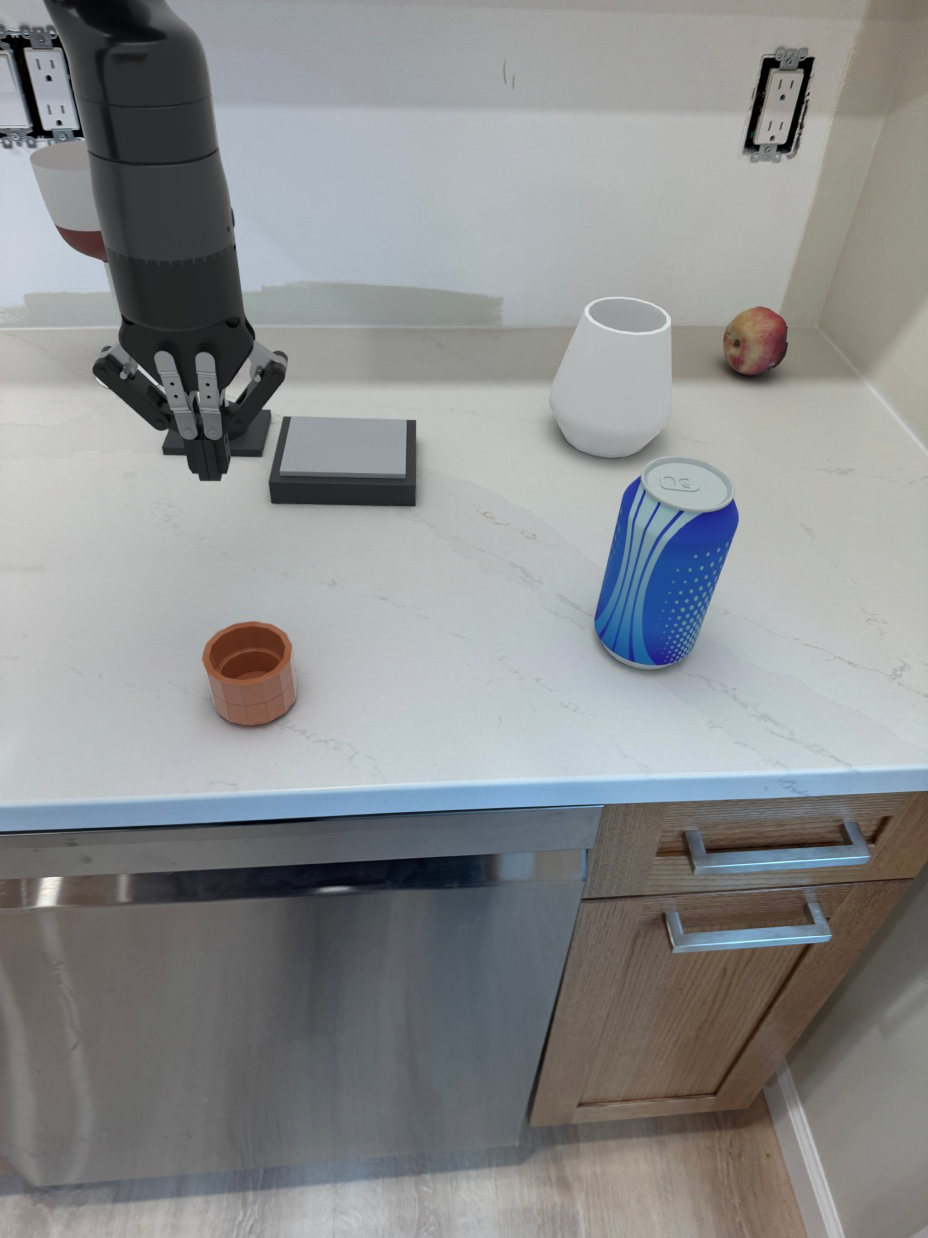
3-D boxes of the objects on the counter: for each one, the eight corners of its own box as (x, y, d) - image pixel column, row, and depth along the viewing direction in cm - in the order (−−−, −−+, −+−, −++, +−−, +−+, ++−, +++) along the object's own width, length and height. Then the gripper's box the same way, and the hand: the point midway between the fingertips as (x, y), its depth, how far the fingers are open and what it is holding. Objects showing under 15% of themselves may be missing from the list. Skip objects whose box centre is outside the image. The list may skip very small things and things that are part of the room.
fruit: (713, 354, 108) (730, 293, 102) (772, 361, 107) (793, 300, 102) (718, 382, 102) (736, 320, 96) (780, 390, 102) (802, 327, 96)
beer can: (631, 591, 73) (673, 435, 62) (711, 642, 69) (771, 485, 58) (570, 636, 69) (604, 476, 57) (652, 693, 65) (705, 533, 53)
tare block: (163, 454, 84) (158, 433, 83) (179, 413, 90) (175, 393, 88) (261, 456, 85) (258, 435, 83) (271, 416, 91) (269, 396, 89)
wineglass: (76, 387, 93) (9, 164, 77) (117, 348, 100) (63, 136, 84) (153, 398, 92) (101, 174, 76) (189, 357, 99) (148, 145, 83)
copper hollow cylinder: (206, 730, 60) (194, 685, 56) (221, 665, 64) (211, 620, 61) (292, 730, 60) (285, 685, 57) (301, 666, 65) (295, 621, 61)
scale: (271, 503, 80) (267, 476, 77) (285, 436, 88) (282, 410, 86) (415, 506, 80) (415, 479, 78) (416, 439, 89) (416, 414, 87)
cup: (529, 450, 89) (545, 326, 79) (561, 394, 98) (579, 277, 88) (651, 481, 86) (683, 356, 76) (673, 419, 95) (704, 301, 85)
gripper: (33, 250, 45) (108, 504, 58) (276, 259, 47) (299, 506, 59) (70, 204, 51) (131, 446, 63) (286, 213, 52) (306, 448, 64)
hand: (212, 474), depth 61 cm, fingers closed
